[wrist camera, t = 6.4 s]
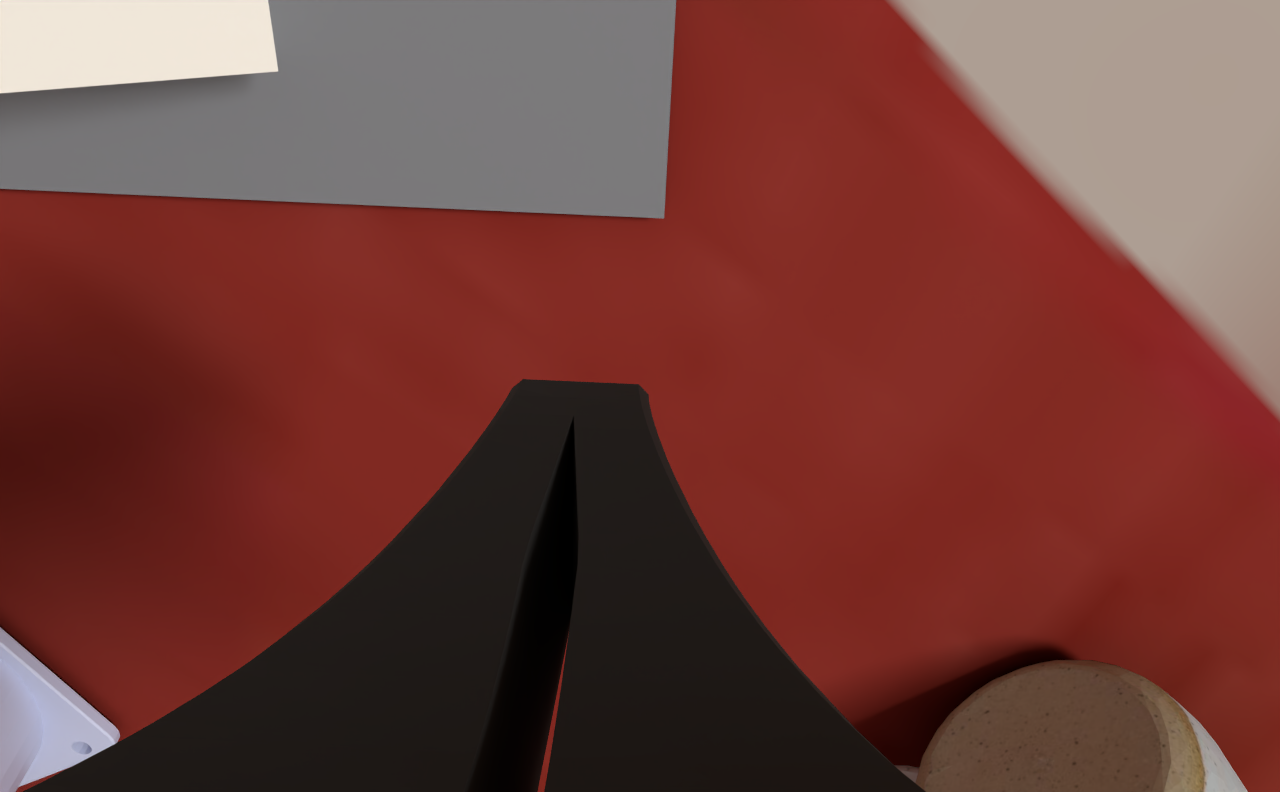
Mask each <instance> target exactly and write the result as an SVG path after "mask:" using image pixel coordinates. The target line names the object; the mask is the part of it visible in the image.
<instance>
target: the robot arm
mask: <svg viewBox="0 0 1280 792" xmlns="http://www.w3.org/2000/svg"><path fill="white" fill-rule="evenodd" d="M568 633H569V635H568ZM567 638H568V643H567ZM566 643H567V650H566V657H565V664H564V671H563V679H562V686H561V692H560V699H559V705H558V712H557V718H556V724H555V731H554V737H553V744H552V750H551V757H550V763H549V768H548V774H547V780H546V785H545V791H544V792H926V791H924V790H923V789H922V788H921V787H920V786H918V785H917V784H916V783H915V782H913V781H912V780H911V779H910V778H908V777H907V776H906V775H905V774H903V773H902V772H901V771H900V770H899V769H897V768H896V767H895V766H894V765H893V764H892V763H891V762H890V761H889V760H888V759H887V758H886V757H885V756H884V755H883V754H882V753H881V752H879V751H878V750H877V749H876V748H875V747H874V746H873V745H872V744H871V743H870V742H869V741H868V740H867V739H866V738H865V737H864V736H863V735H861V734H860V733H859V732H858V731H857V730H856V729H855V728H854V727H853V726H852V724H851V723H850V722H849V721H848V720H847V719H846V718H845V717H844V716H843V715H842V714H841V713H840V712H839V710H838V709H837V708H836V707H835V706H834V705H833V704H832V703H831V702H830V701H829V700H828V699H827V698H826V697H825V695H824V694H823V693H822V692H821V691H820V690H819V689H818V688H817V687H816V686H815V685H814V684H813V683H812V681H811V680H810V679H809V678H808V677H807V676H806V675H805V674H804V673H803V672H802V671H801V670H800V669H799V667H798V666H797V665H796V664H795V663H794V662H793V660H792V659H791V658H790V657H789V655H788V654H787V653H786V652H785V650H784V649H783V648H782V647H781V645H780V644H779V643H778V642H777V640H776V639H775V638H774V637H773V636H772V634H771V633H770V632H769V631H768V629H767V628H766V627H765V625H764V624H763V623H762V621H761V620H760V619H759V617H758V616H757V614H756V613H755V612H754V610H753V609H752V608H751V606H750V605H749V604H748V602H747V601H746V599H745V598H744V597H743V595H742V594H741V592H740V591H739V589H738V588H737V586H736V585H735V583H734V582H733V580H732V579H731V577H730V576H729V574H728V573H727V571H726V569H725V568H724V566H723V565H722V563H721V562H720V560H719V558H718V557H717V555H716V553H715V551H714V550H713V548H712V546H711V545H710V543H709V541H708V540H707V538H706V536H705V535H704V533H703V531H702V529H701V527H700V526H699V524H698V522H697V520H696V518H695V516H694V515H693V513H692V511H691V509H690V507H689V505H688V503H687V501H686V498H685V496H684V494H683V492H682V490H681V488H680V486H679V484H678V482H677V480H676V478H675V476H674V474H673V471H672V469H671V467H670V465H669V462H668V460H667V457H666V455H665V452H664V450H663V447H662V444H661V442H660V439H659V437H658V434H657V431H656V427H655V424H654V421H653V417H652V414H651V409H650V405H649V396H648V394H647V393H646V392H645V391H644V389H643V388H642V387H641V386H640V385H639V384H617V383H595V382H572V381H549V380H527V379H523V380H522V381H520V382H519V383H518V384H517V385H516V386H514V387H513V388H512V390H511V391H510V393H509V395H508V396H507V398H506V400H505V401H504V403H503V404H502V406H501V408H500V409H499V411H498V412H497V414H496V415H495V417H494V418H493V420H492V421H491V422H490V424H489V425H488V427H487V428H486V430H485V431H484V432H483V434H482V435H481V436H480V438H479V439H478V441H477V442H476V443H475V445H474V446H473V447H472V449H471V450H470V451H469V453H468V454H467V455H466V456H465V458H464V459H463V460H462V461H461V463H460V464H459V465H458V466H457V468H456V469H455V470H454V471H453V472H452V474H451V475H450V476H449V477H448V479H447V480H446V481H445V482H444V484H443V485H442V486H441V487H440V489H439V490H438V491H437V492H436V493H435V494H434V496H433V497H432V498H431V499H430V500H429V501H428V502H427V504H426V505H425V506H424V507H423V508H422V509H421V510H420V511H419V512H418V513H417V514H416V515H415V516H414V518H413V519H412V520H411V521H410V522H409V523H408V524H407V525H406V526H405V527H404V528H403V529H402V530H401V532H400V533H399V534H398V535H397V536H396V537H395V538H394V539H393V540H392V541H391V542H390V543H389V544H388V545H387V546H386V547H385V548H384V549H383V550H382V551H381V552H380V553H379V554H378V555H377V556H376V557H375V558H374V559H373V560H372V561H371V562H370V563H369V564H368V565H367V566H366V567H365V568H364V569H363V570H362V571H361V572H359V573H358V574H357V575H356V576H355V577H354V578H353V579H352V580H351V581H350V582H348V583H347V584H346V585H345V586H344V587H343V588H342V589H340V590H339V591H338V592H337V593H336V594H335V595H334V596H333V597H331V598H330V599H329V600H328V601H327V602H326V603H324V604H323V605H322V606H321V607H320V608H318V609H317V610H316V611H315V612H313V613H312V614H311V615H310V616H308V617H307V618H306V619H305V620H303V621H302V622H301V623H300V624H298V625H297V626H296V627H294V628H293V629H292V630H291V631H289V632H288V633H287V634H286V635H284V636H283V637H282V638H281V639H279V640H278V641H277V642H275V643H274V644H273V645H271V646H270V647H269V648H267V649H266V650H265V651H263V652H262V653H261V654H259V655H258V656H257V657H255V658H254V659H252V660H251V661H250V662H248V663H247V664H245V665H244V666H243V667H241V668H240V669H238V670H237V671H235V672H234V673H232V674H231V675H229V676H227V677H226V678H224V679H223V680H221V681H220V682H218V683H217V684H215V685H214V686H212V687H211V688H209V689H208V690H206V691H204V692H203V693H201V694H200V695H198V696H197V697H195V698H193V699H192V700H190V701H188V702H187V703H185V704H183V705H182V706H180V707H178V708H177V709H175V710H174V711H172V712H170V713H169V714H167V715H165V716H164V717H162V718H160V719H159V720H157V721H155V722H154V723H152V724H150V725H148V726H147V727H145V728H143V729H141V730H140V731H138V732H136V733H134V734H133V735H131V736H129V737H127V738H125V739H123V740H122V741H120V742H118V740H119V737H120V734H119V731H118V729H117V728H116V727H115V726H114V725H113V724H112V723H111V722H110V721H108V720H107V719H106V718H105V717H104V716H103V715H101V714H100V713H99V712H98V711H97V710H96V709H95V708H93V707H92V706H91V705H90V704H89V703H88V702H86V701H85V700H84V699H83V698H82V697H81V696H79V695H78V694H77V693H76V692H75V691H74V690H72V689H71V688H70V687H69V686H68V685H67V684H66V683H64V682H63V681H62V680H61V679H60V678H59V677H57V676H56V675H55V674H54V673H53V672H52V671H50V670H49V669H48V668H47V667H46V666H45V665H44V664H42V663H41V662H40V661H39V660H38V659H37V658H35V657H34V656H33V655H32V654H31V653H30V652H28V651H27V650H26V649H25V648H24V647H23V646H21V645H20V644H19V643H18V642H17V641H16V640H15V639H13V638H12V637H11V636H10V635H9V634H8V633H6V632H5V631H4V630H3V629H2V628H1V627H0V792H16V790H17V788H18V787H20V786H22V785H25V784H27V783H30V782H33V781H35V780H38V779H40V778H43V777H46V776H48V775H51V774H53V773H56V772H59V771H61V770H64V769H66V768H68V769H66V770H64V771H62V772H61V773H59V774H57V775H55V776H53V777H51V778H49V779H47V780H45V781H43V782H42V783H40V784H38V785H35V786H33V787H31V788H29V789H27V790H25V791H23V792H537V791H538V786H539V780H540V775H541V770H542V765H543V760H544V755H545V750H546V745H547V740H548V735H549V730H550V725H551V720H552V715H553V710H554V705H555V700H556V694H557V689H558V684H559V679H560V674H561V669H562V664H563V659H564V654H565V649H566ZM117 742H118V743H117ZM69 767H70V768H69Z"/></svg>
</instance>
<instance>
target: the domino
mask: <svg viewBox="0 0 1280 792" xmlns="http://www.w3.org/2000/svg"><path fill="white" fill-rule="evenodd" d="M277 71H278V66H277V59H276V52H275V45H274V38H273V31H272V24H271V17H270V10H269V3H268V0H0V93H12V92H24V91H37V90H50V89H62V88H75V87H88V86H100V85H113V84H125V83H138V82H151V81H163V80H176V79H189V78H201V77H214V76H227V75H239V74H252V73H264V72H277Z"/></svg>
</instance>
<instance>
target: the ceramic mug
mask: <svg viewBox="0 0 1280 792" xmlns="http://www.w3.org/2000/svg"><path fill="white" fill-rule="evenodd" d="M894 766H895V767H896V768H897V769H899V770H900V771H901V772H902V773H903V774H905V775H906V776H907V777H908V778H910V779H911V780H912V781H913V782H915V783H916V784H917V785H918V786H920V787H921V788H922V789H923V790H924V791H926V792H1248V791H1247V790H1246V788H1245V787H1244V785H1243V784H1242V782H1241V781H1240V779H1239V778H1238V776H1237V775H1236V773H1235V771H1234V770H1233V768H1232V767H1231V765H1230V764H1229V762H1228V761H1227V759H1226V758H1225V756H1224V755H1223V753H1222V751H1221V750H1220V748H1219V747H1218V745H1217V744H1216V742H1215V741H1214V740H1213V739H1212V737H1211V736H1210V735H1209V734H1208V732H1207V731H1206V730H1205V729H1204V727H1203V726H1202V725H1201V724H1200V722H1198V721H1197V720H1196V719H1195V718H1194V717H1193V716H1192V715H1191V714H1190V713H1189V712H1188V711H1187V710H1186V709H1184V708H1183V707H1182V706H1181V705H1180V704H1179V703H1178V702H1177V701H1175V700H1174V699H1173V698H1172V697H1171V696H1170V695H1168V694H1167V693H1166V692H1165V691H1164V690H1162V689H1161V688H1160V687H1158V686H1157V685H1155V684H1154V683H1152V682H1151V681H1149V680H1147V679H1146V678H1144V677H1143V676H1140V675H1138V674H1136V673H1133V672H1131V671H1128V670H1126V669H1124V668H1121V667H1119V666H1117V665H1112V664H1108V663H1103V662H1098V661H1093V660H1054V661H1048V662H1042V663H1037V664H1034V665H1030V666H1026V667H1023V668H1020V669H1018V670H1015V671H1013V672H1011V673H1008V674H1006V675H1003V676H1001V677H999V678H996V679H994V680H992V681H990V682H989V683H987V684H986V685H984V686H983V687H981V688H980V689H978V690H977V691H975V692H974V693H973V694H972V695H970V696H969V697H968V698H967V699H966V700H964V701H963V702H962V703H961V704H960V705H959V706H958V707H957V708H955V709H954V710H953V711H952V712H951V713H950V714H949V716H948V717H947V718H946V719H945V721H944V722H943V723H942V724H941V726H940V727H939V728H938V729H937V731H936V733H935V734H934V736H933V738H932V740H931V742H930V743H929V745H928V747H927V749H926V751H925V753H924V754H923V757H922V760H921V764H920V767H912V766H900V765H894Z"/></svg>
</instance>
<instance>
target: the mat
mask: <svg viewBox="0 0 1280 792" xmlns="http://www.w3.org/2000/svg"><path fill="white" fill-rule="evenodd" d="M268 3H269V10H270V17H271V24H272V31H273V38H274V45H275V52H276V59H277V66H278V71H277V72H264V73H252V74H239V75H227V76H214V77H201V78H189V79H176V80H163V81H151V82H138V83H125V84H113V85H100V86H88V87H75V88H62V89H50V90H37V91H24V92H12V93H0V189H18V190H40V191H63V192H85V193H107V194H130V195H152V196H175V197H197V198H219V199H242V200H264V201H287V202H309V203H331V204H354V205H376V206H398V207H421V208H443V209H466V210H488V211H510V212H533V213H555V214H578V215H600V216H622V217H645V218H664V209H665V191H666V173H667V155H668V137H669V119H670V100H671V82H672V64H673V46H674V28H675V10H676V0H268Z"/></svg>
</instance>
